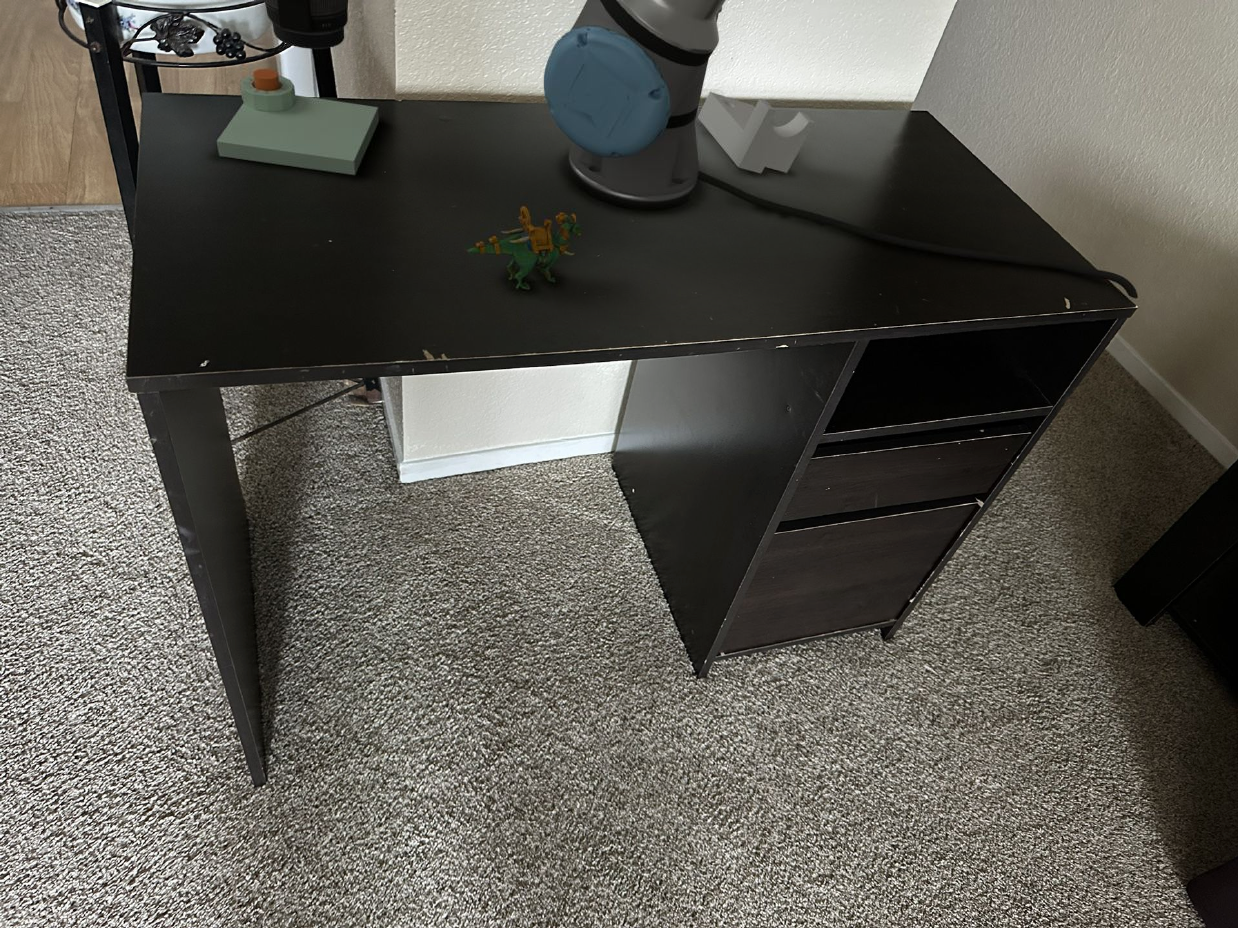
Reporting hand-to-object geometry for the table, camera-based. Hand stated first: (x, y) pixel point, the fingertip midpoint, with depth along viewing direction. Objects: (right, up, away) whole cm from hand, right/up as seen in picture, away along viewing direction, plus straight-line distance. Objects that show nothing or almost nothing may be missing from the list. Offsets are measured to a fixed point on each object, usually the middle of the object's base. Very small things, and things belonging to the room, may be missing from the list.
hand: (307, 12), depth 85 cm
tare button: (-8, -3, +11) cm, 14 cm away
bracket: (+47, -4, +26) cm, 54 cm away
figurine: (+21, -27, -2) cm, 34 cm away
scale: (-4, -8, +11) cm, 14 cm away
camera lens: (0, -2, +2) cm, 2 cm away
